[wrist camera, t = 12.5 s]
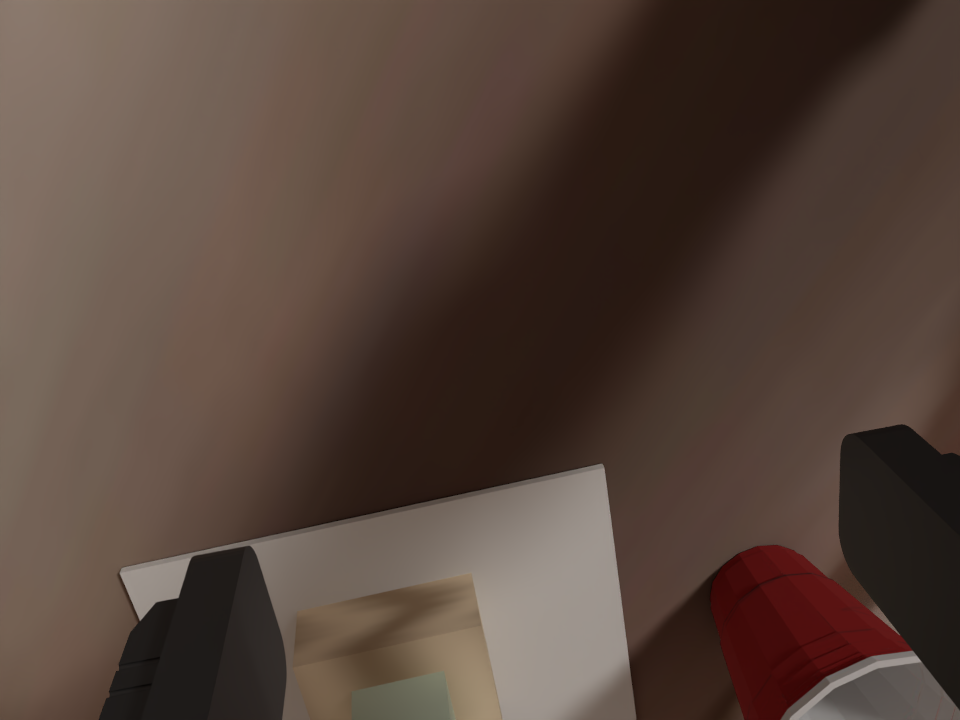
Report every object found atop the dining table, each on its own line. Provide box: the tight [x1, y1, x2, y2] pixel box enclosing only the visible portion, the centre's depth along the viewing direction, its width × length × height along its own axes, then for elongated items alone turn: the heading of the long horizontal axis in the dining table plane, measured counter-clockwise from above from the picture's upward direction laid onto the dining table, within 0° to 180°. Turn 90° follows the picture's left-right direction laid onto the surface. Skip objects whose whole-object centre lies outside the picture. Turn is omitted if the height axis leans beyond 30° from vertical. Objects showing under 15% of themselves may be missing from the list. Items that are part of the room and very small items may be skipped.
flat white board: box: [120, 464, 636, 720], centre depth 47 cm, size 24×18×1 cm
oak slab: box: [293, 573, 503, 720], centre depth 45 cm, size 9×9×4 cm
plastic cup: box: [710, 545, 960, 720], centre depth 44 cm, size 11×11×12 cm
